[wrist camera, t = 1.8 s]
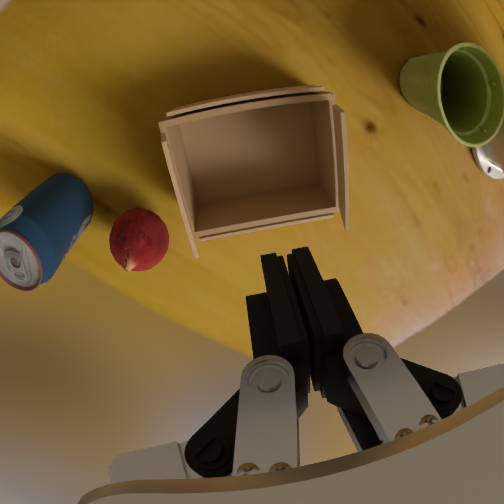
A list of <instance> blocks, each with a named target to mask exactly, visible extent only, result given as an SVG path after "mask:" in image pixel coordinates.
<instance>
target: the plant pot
mask: <svg viewBox="0 0 504 504" xmlns="http://www.w3.org/2000/svg"><path fill="white" fill-rule="evenodd" d="M399 81H400V88H401V92H402V94H403V96H404V98H405V99H406V100H407V101H408V103H409V104H410V105H411V106H412V107H414V108H415V109H417V110H419V111H421V112H422V113H424V114H426V115H428V116H430V117H431V118H433V119H435V120H436V121H438V122H440V123H441V124H443V125H444V126H445V128H446V129H447V130H448V131H449V133H450V134H451V135H452V136H453V137H454V138H455V139H456V140H457V141H458V142H460V143H462V144H463V145H466V146H469V147H480V146H483V145H485V144H487V143H488V142H490V141H491V140H492V139H493V138H494V137H495V136H496V134H497V133H498V131H499V129H500V127H501V125H502V122H503V119H504V82H503V78H502V75H501V72H500V70H499V68H498V66H497V64H496V62H495V61H494V59H493V58H492V57H491V55H490V54H489V53H488V52H487V51H486V50H485V49H483V48H482V47H480V46H479V45H476V44H473V43H468V42H464V43H458V44H456V45H454V46H452V47H451V48H449V49H448V50H446V51H445V52H439V53H434V54H428V55H423V56H417V57H413V58H410V59H409V60H408V61H407V63H406V64H405V65H404V66H403V67H402V69H401V72H400V78H399Z"/></svg>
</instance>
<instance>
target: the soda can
mask: <svg viewBox="0 0 504 504" xmlns="http://www.w3.org/2000/svg"><path fill="white" fill-rule="evenodd" d="M92 214H93V202H92V198H91V194H90V192H89V190H88V188H87V186H86V185H85V184H84V183H83V182H82V181H81V180H80V179H78V178H76V177H74V176H72V175H69V174H56V175H53V176H51V177H49V178H48V179H47V180H45V181H44V182H43V183H42V184H40V185H39V186H38V187H37V188H35V189H34V190H33V191H32V192H30V193H29V194H28V195H27V196H26V197H24V198H23V199H22V200H21V201H20V202H19V203H17V204H16V205H15V206H14V207H13V208H12V209H11V210H9V211H8V212H7V213H6V214H5V215H4V216H3V217H2V218H1V219H0V276H1V277H2V278H3V280H5V281H6V282H7V283H8V284H9V285H11V286H13V287H14V288H16V289H19V290H22V291H31V290H33V289H35V288H37V287H38V286H39V285H40V284H42V283H45V282H47V281H48V280H49V279H51V278H52V276H53V275H54V273H55V272H56V270H57V268H58V267H59V265H60V264H61V262H62V261H63V259H64V258H65V257H66V255H67V254H68V252H69V251H70V249H71V248H72V246H73V245H74V243H75V242H76V241H77V239H78V238H79V236H80V235H81V234H82V232H83V231H84V230H85V228H86V227H87V226H88V224H89V223H90V221H91V218H92Z"/></svg>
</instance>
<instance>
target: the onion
mask: <svg viewBox="0 0 504 504" xmlns="http://www.w3.org/2000/svg"><path fill="white" fill-rule="evenodd" d="M109 241H110V250H111V253H112V255H113V257H114V258H115V260H116V262H118V263H119V264H120V265H121V266H122V267H123V268H124V270H125V271H128V272H129V271H144V270H148V269H151V268H152V267H154V266H155V265H157V264H158V263H159V262H160V261H161V260H162V258H163V257H164V255H165V254H166V252H167V250H168V243H169V234H168V230H167V227H166V225H165V223H164V222H163V221H162V220H161V218H160V217H159V216H158V215H157V214H155V213H153V212H152V211H150V210H146V209H141V208H136V209H132V210H128V211H126V212H125V213H124V214H123V215H121V216H120V217H119V218H118V219H117V220H116V221H115V222H114V224H113V227H112V230H111V233H110V238H109Z"/></svg>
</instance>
